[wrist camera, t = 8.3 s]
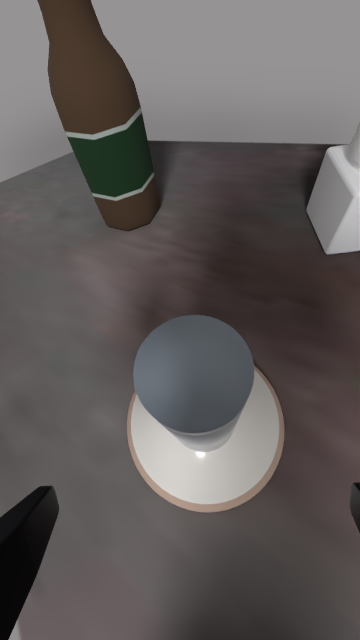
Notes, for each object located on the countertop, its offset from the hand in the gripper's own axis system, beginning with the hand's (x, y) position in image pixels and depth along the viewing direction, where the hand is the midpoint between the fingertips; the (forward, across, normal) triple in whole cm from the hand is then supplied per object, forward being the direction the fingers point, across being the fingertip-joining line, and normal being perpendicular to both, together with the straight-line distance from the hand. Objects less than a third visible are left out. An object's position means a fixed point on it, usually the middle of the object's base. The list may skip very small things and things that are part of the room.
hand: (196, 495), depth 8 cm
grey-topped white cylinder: (+11, 0, +5) cm, 12 cm away
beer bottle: (+30, +8, -12) cm, 33 cm away
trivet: (+12, 0, +6) cm, 13 cm away
